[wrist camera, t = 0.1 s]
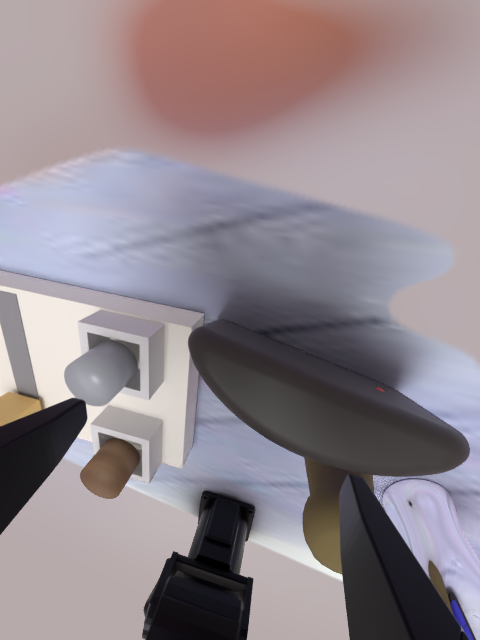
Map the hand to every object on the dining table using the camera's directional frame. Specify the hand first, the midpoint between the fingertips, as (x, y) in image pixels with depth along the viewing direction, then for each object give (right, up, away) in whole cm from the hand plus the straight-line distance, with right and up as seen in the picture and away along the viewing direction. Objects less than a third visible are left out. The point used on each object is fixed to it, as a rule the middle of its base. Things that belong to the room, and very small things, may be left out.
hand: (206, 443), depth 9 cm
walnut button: (-10, -8, +16) cm, 20 cm away
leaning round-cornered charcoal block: (+6, +1, +14) cm, 16 cm away
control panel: (-14, 0, +19) cm, 24 cm away
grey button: (-8, +1, +12) cm, 15 cm away
